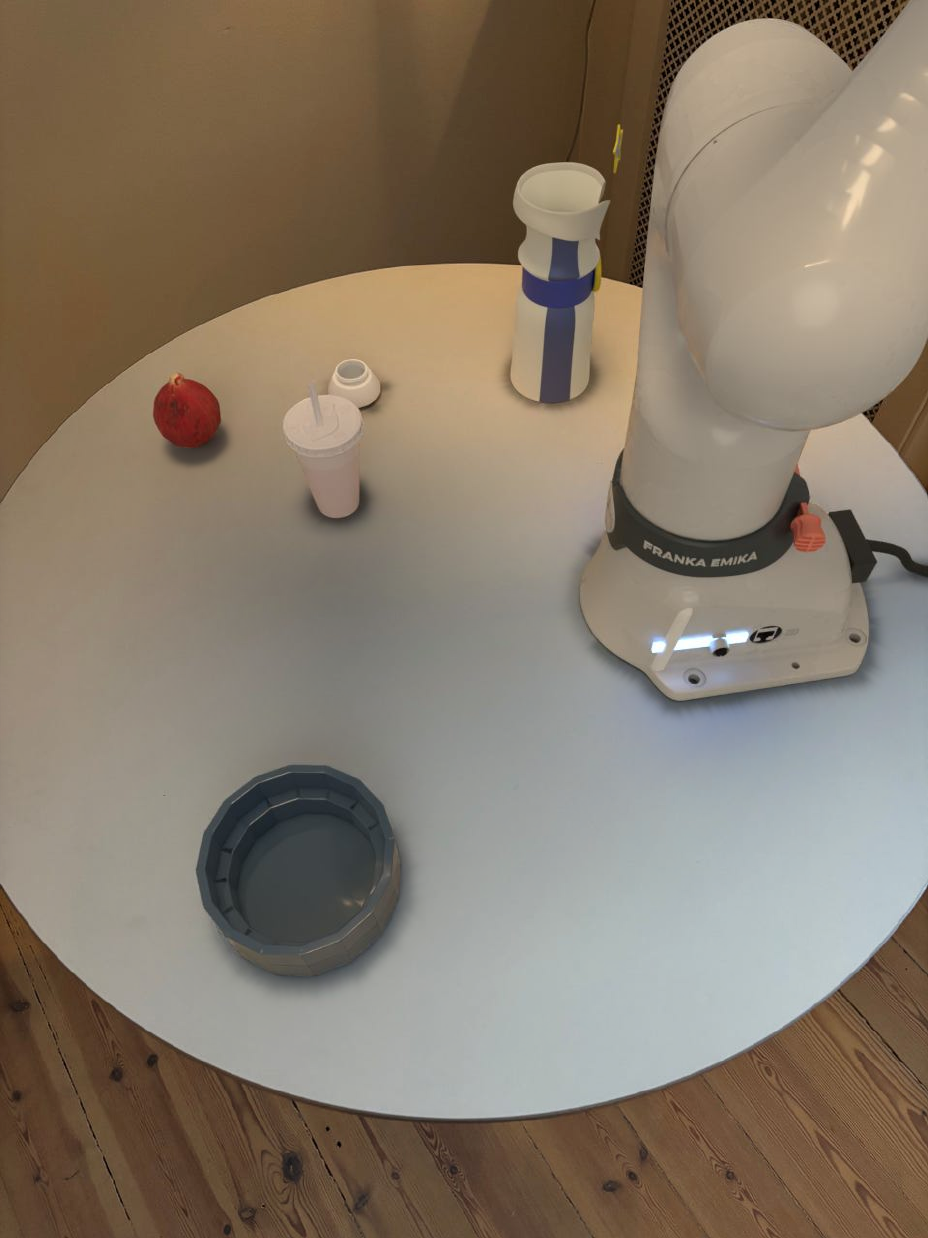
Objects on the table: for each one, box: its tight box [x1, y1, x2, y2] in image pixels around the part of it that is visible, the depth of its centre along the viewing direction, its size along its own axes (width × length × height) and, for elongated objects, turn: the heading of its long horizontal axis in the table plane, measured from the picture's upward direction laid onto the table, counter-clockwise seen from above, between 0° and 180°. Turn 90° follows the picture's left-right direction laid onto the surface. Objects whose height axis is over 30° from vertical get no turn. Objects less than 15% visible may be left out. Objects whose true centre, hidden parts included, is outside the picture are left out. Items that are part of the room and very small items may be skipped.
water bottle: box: [510, 123, 624, 404], centre depth 79 cm, size 8×9×25 cm
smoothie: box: [282, 380, 365, 519], centre depth 75 cm, size 6×6×14 cm
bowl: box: [195, 764, 402, 977], centre depth 59 cm, size 12×12×6 cm
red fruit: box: [152, 372, 222, 449], centre depth 82 cm, size 6×6×8 cm
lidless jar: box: [327, 358, 381, 409], centre depth 87 cm, size 5×3×5 cm
